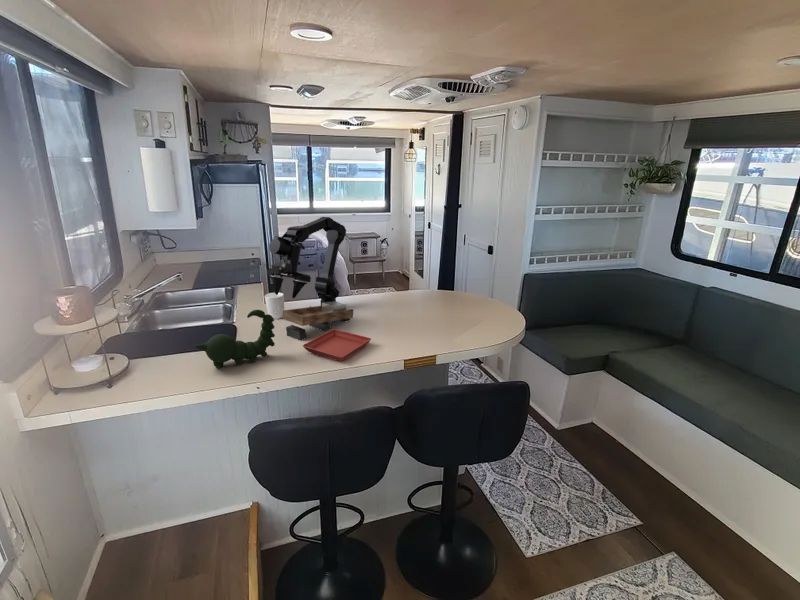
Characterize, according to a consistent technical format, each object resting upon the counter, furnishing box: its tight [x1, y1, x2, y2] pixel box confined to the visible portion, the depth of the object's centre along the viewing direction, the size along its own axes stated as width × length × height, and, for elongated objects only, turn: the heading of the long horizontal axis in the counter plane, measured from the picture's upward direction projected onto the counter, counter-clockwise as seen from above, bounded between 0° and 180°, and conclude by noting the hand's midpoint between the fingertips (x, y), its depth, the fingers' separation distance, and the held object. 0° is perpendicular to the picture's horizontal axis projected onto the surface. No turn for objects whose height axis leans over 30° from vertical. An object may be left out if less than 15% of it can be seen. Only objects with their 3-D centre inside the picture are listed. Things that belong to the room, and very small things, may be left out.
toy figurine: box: [194, 309, 276, 369], centre depth 141 cm, size 9×19×25 cm
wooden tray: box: [282, 305, 354, 327], centre depth 171 cm, size 27×13×4 cm, turn 142°
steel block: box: [322, 300, 347, 313], centre depth 177 cm, size 7×7×4 cm
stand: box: [285, 318, 351, 341], centre depth 172 cm, size 27×10×4 cm, turn 142°
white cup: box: [264, 292, 285, 320], centre depth 184 cm, size 8×8×10 cm
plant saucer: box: [302, 328, 372, 362], centre depth 153 cm, size 18×18×3 cm
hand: (284, 296), depth 169 cm, fingers open, 9 cm apart
